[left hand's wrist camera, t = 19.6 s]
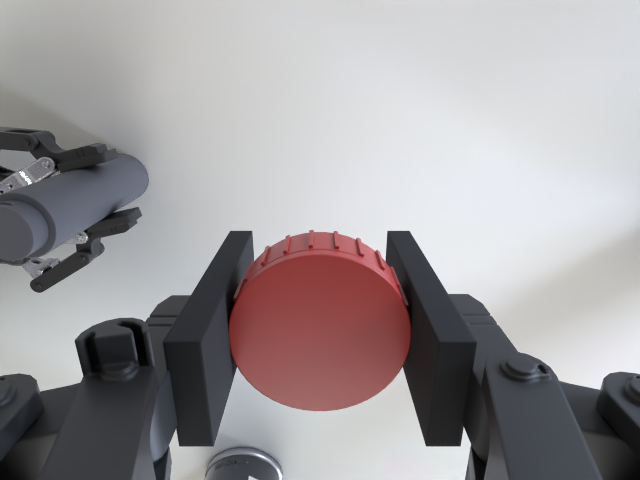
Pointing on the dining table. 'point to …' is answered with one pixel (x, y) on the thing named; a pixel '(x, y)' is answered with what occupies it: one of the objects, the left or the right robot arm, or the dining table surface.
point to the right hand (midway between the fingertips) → (124, 185)
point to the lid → (319, 322)
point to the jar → (66, 205)
